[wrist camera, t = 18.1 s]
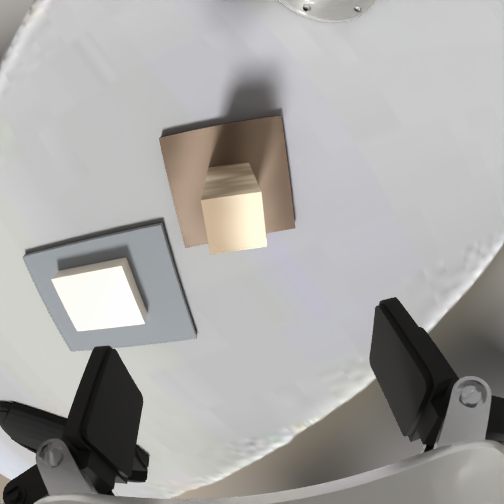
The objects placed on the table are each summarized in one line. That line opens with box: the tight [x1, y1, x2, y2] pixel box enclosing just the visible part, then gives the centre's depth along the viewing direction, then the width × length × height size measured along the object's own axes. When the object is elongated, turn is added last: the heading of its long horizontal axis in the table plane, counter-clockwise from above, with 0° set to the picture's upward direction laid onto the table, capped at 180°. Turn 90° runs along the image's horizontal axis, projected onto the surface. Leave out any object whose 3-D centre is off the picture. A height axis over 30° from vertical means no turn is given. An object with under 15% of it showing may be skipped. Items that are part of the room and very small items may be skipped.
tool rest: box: [159, 115, 295, 248], centre depth 32 cm, size 12×12×1 cm
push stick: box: [201, 162, 267, 254], centre depth 26 cm, size 4×4×11 cm
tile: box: [51, 257, 148, 331], centre depth 35 cm, size 10×2×8 cm
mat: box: [23, 223, 197, 351], centre depth 37 cm, size 20×16×1 cm
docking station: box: [0, 402, 149, 482], centre depth 52 cm, size 25×41×5 cm, turn 73°
